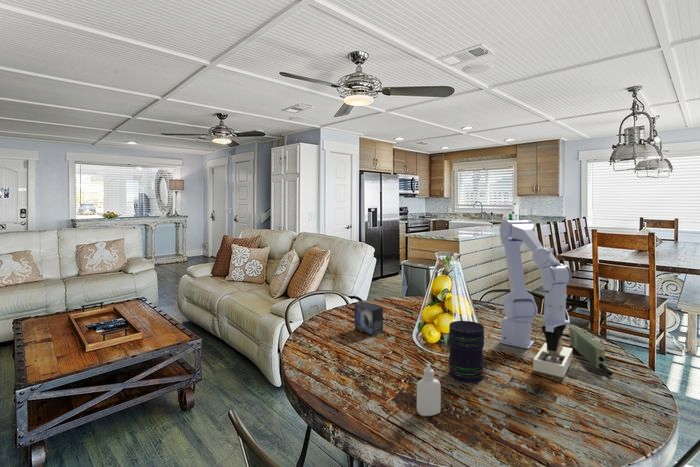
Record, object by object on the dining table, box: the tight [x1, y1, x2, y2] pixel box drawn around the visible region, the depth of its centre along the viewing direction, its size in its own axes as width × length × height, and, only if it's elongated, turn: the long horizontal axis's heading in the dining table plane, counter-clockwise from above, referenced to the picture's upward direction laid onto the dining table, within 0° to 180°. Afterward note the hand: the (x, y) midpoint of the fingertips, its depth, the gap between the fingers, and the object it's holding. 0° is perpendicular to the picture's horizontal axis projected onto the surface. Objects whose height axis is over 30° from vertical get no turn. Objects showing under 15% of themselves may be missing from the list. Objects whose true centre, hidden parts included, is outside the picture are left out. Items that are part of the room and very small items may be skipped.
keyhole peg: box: [546, 336, 563, 364], centre depth 116 cm, size 4×4×8 cm
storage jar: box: [448, 320, 485, 384], centre depth 110 cm, size 10×10×15 cm
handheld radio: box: [569, 326, 614, 376], centre depth 120 cm, size 7×3×25 cm
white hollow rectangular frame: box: [532, 342, 574, 380], centre depth 117 cm, size 16×8×4 cm, turn 142°
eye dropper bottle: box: [416, 363, 442, 417], centre depth 92 cm, size 4×6×12 cm
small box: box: [353, 301, 384, 336], centre depth 149 cm, size 11×6×10 cm, turn 42°
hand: (553, 348), depth 116 cm, fingers closed on keyhole peg, 3 cm apart
